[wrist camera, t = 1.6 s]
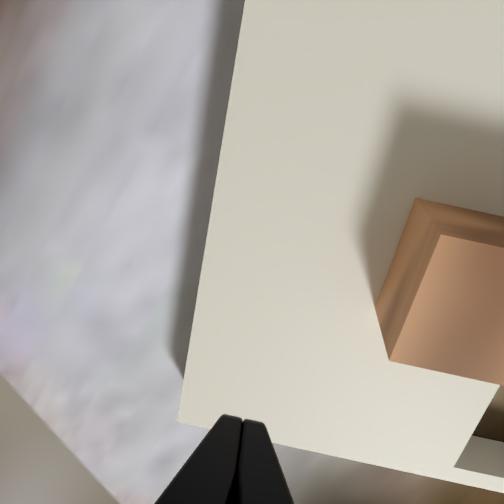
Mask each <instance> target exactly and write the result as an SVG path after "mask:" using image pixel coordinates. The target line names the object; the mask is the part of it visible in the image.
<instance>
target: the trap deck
mask: <svg viewBox="0 0 504 504" xmlns="http://www.w3.org/2000/svg"><path fill="white" fill-rule="evenodd" d="M415 198H419V199H424V200H429V201H433V202H438V203H443V204H447V205H452V206H456V207H461V208H466V209H470V210H475V211H480V212H484V213H489V214H494V215H498V216H503V217H504V0H245V3H244V9H243V16H242V22H241V28H240V34H239V40H238V46H237V53H236V59H235V65H234V71H233V77H232V83H231V90H230V96H229V102H228V108H227V114H226V121H225V127H224V133H223V139H222V145H221V151H220V158H219V164H218V170H217V176H216V182H215V188H214V195H213V201H212V207H211V213H210V219H209V225H208V232H207V238H206V244H205V250H204V256H203V263H202V269H201V275H200V281H199V287H198V293H197V300H196V306H195V312H194V318H193V324H192V330H191V337H190V343H189V349H188V355H187V361H186V367H185V374H184V380H183V386H182V392H181V398H180V405H179V411H178V417H177V422H180V423H184V424H189V425H193V426H198V427H203V428H207V429H211V428H212V427H213V425H214V424H215V423H216V421H217V420H218V419H219V417H220V416H221V415H223V414H228V415H232V416H237V417H241V418H242V420H243V421H244V419H251V420H256V421H260V422H263V423H264V424H265V426H266V428H267V431H268V433H269V436H270V439H271V441H272V443H276V444H281V445H285V446H290V447H294V448H299V449H304V450H308V451H313V452H317V453H322V454H327V455H331V456H336V457H340V458H345V459H350V460H354V461H359V462H363V463H368V464H373V465H377V466H382V467H386V468H391V469H395V470H400V471H405V472H409V473H414V474H418V475H423V476H428V477H432V478H437V479H441V480H446V481H451V482H455V483H460V484H464V485H469V486H474V487H478V488H483V489H487V490H492V491H497V492H501V493H504V442H500V441H495V440H491V439H486V438H482V437H477V436H472V434H473V432H474V430H475V428H476V427H477V425H478V423H479V421H480V419H481V418H482V416H483V414H484V412H485V411H486V409H487V407H488V405H489V404H490V402H491V400H492V398H493V397H494V395H495V393H496V391H497V389H498V388H499V386H500V385H498V384H493V383H489V382H484V381H479V380H475V379H470V378H466V377H461V376H456V375H452V374H447V373H443V372H438V371H433V370H429V369H424V368H419V367H415V366H410V365H406V364H401V363H396V362H392V361H389V359H388V356H387V352H386V348H385V345H384V341H383V337H382V333H381V330H380V326H379V322H378V318H377V315H376V311H375V305H376V303H377V300H378V297H379V295H380V292H381V289H382V287H383V284H384V281H385V278H386V276H387V273H388V270H389V268H390V265H391V262H392V259H393V257H394V254H395V251H396V249H397V246H398V243H399V241H400V238H401V235H402V232H403V230H404V227H405V224H406V222H407V219H408V216H409V214H410V211H411V208H412V205H413V203H414V200H415Z"/></svg>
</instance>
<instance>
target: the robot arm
mask: <svg viewBox="0 0 504 504" xmlns="http://www.w3.org/2000/svg"><path fill="white" fill-rule="evenodd" d="M155 504H294V501H293V498H292V496H291V493H290V490H289V488H288V485H287V482H286V479H285V477H284V474H283V471H282V469H281V466H280V463H279V460H278V458H277V455H276V452H275V450H274V447H273V444H272V441H271V439H270V436H269V433H268V431H267V428H266V426H265V424H264V423H263V422H260V421H256V420H251V419H244V421H243V420H242V418H241V417H237V416H232V415H228V414H223V415H221V416H220V417H219V419H218V420H217V421H216V423H215V424H214V425H213V427H212V428H211V429H210V431H209V432H208V433H207V435H206V436H205V437H204V439H203V440H202V441H201V443H200V444H199V445H198V447H197V448H196V449H195V451H194V452H193V453H192V455H191V456H190V457H189V459H188V460H187V461H186V462H185V464H184V465H183V466H182V468H181V469H180V470H179V472H178V473H177V474H176V476H175V477H174V478H173V480H172V481H171V482H170V484H169V485H168V486H167V488H166V489H165V490H164V492H163V493H162V494H161V496H160V497H159V498H158V500H157V501H156V502H155Z"/></svg>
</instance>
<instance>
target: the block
mask: <svg viewBox="0 0 504 504" xmlns="http://www.w3.org/2000/svg"><path fill="white" fill-rule="evenodd" d="M375 311H376V315H377V318H378V322H379V326H380V330H381V333H382V337H383V341H384V345H385V348H386V352H387V356H388V359H389V361H392V362H396V363H401V364H406V365H410V366H415V367H419V368H424V369H429V370H433V371H438V372H443V373H447V374H452V375H456V376H461V377H466V378H470V379H475V380H479V381H484V382H489V383H493V384H498V385H503V386H504V217H503V216H498V215H494V214H489V213H484V212H480V211H475V210H470V209H466V208H461V207H456V206H452V205H447V204H443V203H438V202H433V201H429V200H424V199H419V198H415V200H414V203H413V205H412V208H411V211H410V214H409V216H408V219H407V222H406V224H405V227H404V230H403V232H402V235H401V238H400V241H399V243H398V246H397V249H396V251H395V254H394V257H393V259H392V262H391V265H390V268H389V270H388V273H387V276H386V278H385V281H384V284H383V287H382V289H381V292H380V295H379V297H378V300H377V303H376V305H375Z"/></svg>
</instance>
